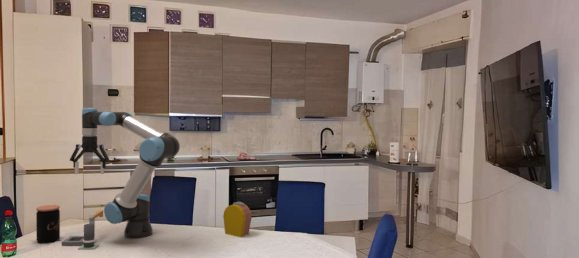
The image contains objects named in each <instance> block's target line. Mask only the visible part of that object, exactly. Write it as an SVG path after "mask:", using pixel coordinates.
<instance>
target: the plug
mask: <svg viewBox="0 0 579 258" xmlns="http://www.w3.org/2000/svg"><path fill="white" fill-rule="evenodd" d="M83 236H84V239H83V243H84V247H85V248H90V247H93V246H94V241H95V240H96V238H94V224H89V223H85V224H84V225H83Z"/></svg>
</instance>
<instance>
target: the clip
mask: <svg viewBox="0 0 579 258" xmlns="http://www.w3.org/2000/svg"><path fill="white" fill-rule="evenodd" d="M102 217H104V209H100V210H98V211H96V212H95V213H93V214H92V215H89V216H88V221H90V220H95V219H97V218H102ZM95 221H96V220H95Z"/></svg>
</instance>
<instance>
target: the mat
mask: <svg viewBox="0 0 579 258" xmlns="http://www.w3.org/2000/svg"><path fill="white" fill-rule="evenodd" d="M99 246H100V243H98V244H97V243H95V244H94V246H93V247H90V248H85V247H84V244H83V245H82V246H78V248H77V249H78V250H96V249H97V248H98V247H99Z"/></svg>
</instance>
